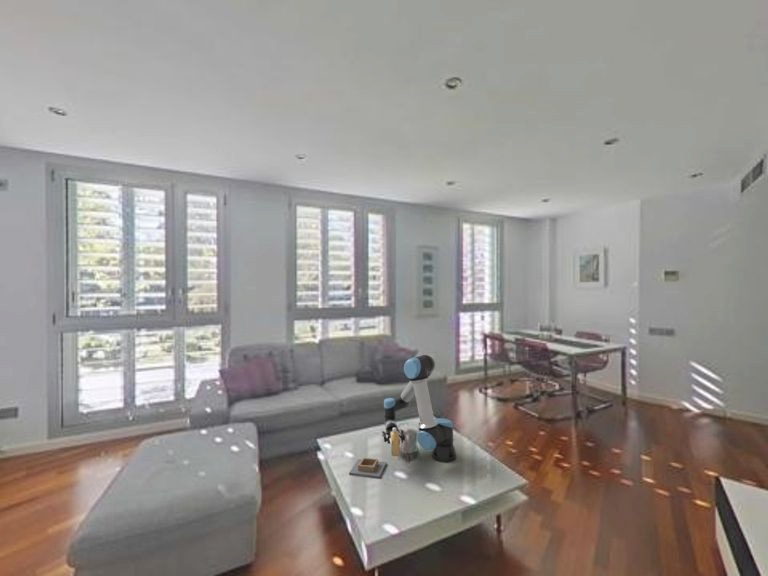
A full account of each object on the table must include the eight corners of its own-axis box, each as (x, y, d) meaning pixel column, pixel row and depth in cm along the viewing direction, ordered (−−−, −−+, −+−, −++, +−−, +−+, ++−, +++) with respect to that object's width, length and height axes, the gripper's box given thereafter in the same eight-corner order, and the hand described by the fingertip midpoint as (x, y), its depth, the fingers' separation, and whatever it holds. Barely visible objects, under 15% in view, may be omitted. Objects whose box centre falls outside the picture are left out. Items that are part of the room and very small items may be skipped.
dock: (386, 464, 219) (386, 457, 219) (379, 478, 204) (379, 470, 204) (358, 461, 224) (358, 454, 224) (349, 474, 209) (349, 467, 209)
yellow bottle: (401, 454, 212) (400, 428, 211) (394, 457, 209) (393, 430, 209) (396, 451, 216) (395, 425, 216) (389, 453, 213) (388, 428, 213)
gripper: (405, 433, 231) (412, 450, 208) (377, 435, 230) (380, 452, 206) (405, 421, 231) (411, 437, 208) (377, 423, 230) (380, 439, 206)
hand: (396, 444), depth 207 cm, fingers closed on yellow bottle, 5 cm apart
